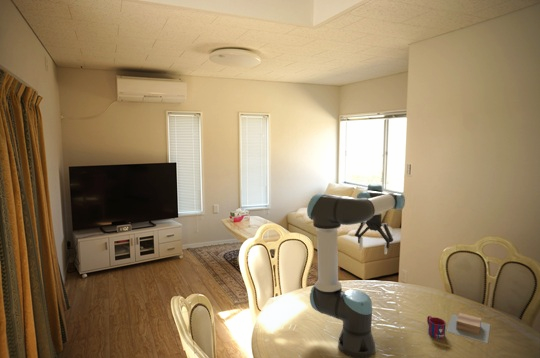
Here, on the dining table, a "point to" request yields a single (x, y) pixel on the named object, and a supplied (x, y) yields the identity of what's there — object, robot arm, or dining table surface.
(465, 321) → the base block
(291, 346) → the dining table surface
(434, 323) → the mug
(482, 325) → the mat
